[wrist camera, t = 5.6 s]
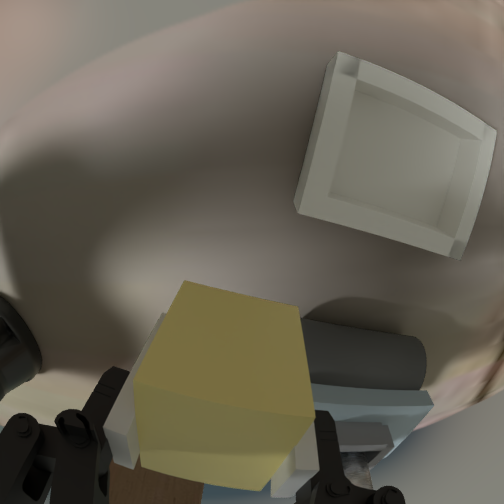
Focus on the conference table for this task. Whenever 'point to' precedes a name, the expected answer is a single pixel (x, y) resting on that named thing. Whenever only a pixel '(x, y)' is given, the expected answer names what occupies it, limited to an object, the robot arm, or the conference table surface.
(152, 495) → the block
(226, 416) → the yellow cube
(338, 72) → the tray
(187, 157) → the conference table surface
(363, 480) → the pin
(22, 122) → the conference table surface
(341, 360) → the grey plate on cylinders
